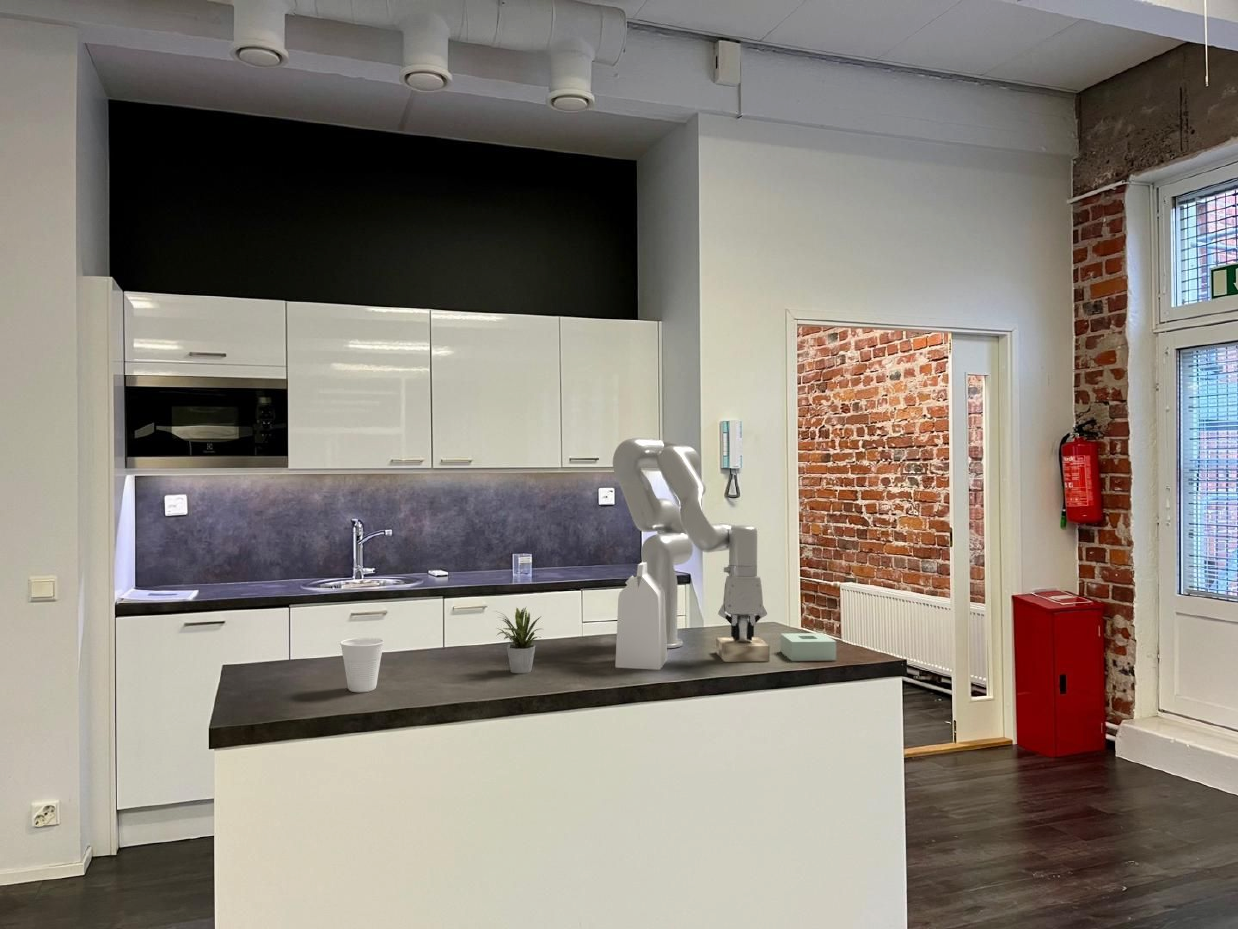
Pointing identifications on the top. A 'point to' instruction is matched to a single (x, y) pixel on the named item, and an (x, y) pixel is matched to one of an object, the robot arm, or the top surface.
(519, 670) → the house plant
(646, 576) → the milk
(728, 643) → the mount
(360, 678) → the cup
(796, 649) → the socket
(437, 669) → the top surface
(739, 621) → the pin
